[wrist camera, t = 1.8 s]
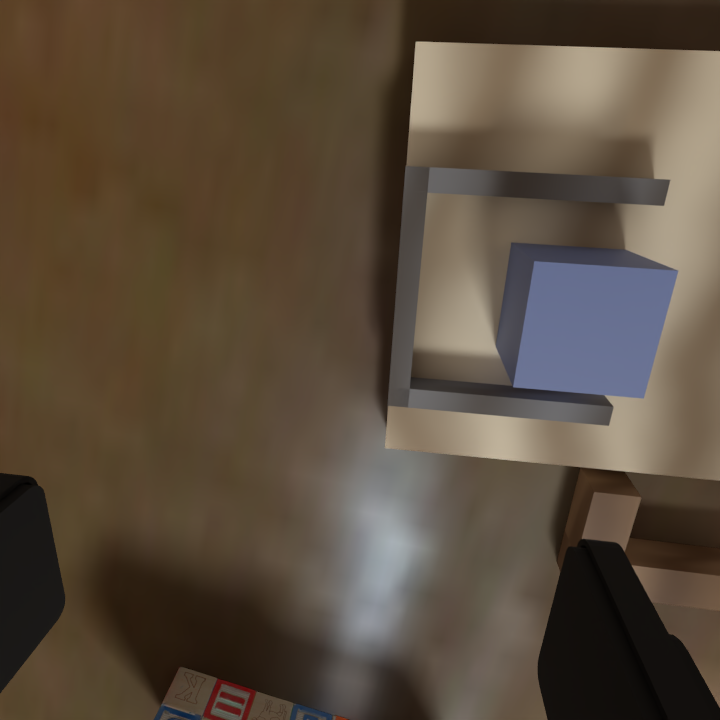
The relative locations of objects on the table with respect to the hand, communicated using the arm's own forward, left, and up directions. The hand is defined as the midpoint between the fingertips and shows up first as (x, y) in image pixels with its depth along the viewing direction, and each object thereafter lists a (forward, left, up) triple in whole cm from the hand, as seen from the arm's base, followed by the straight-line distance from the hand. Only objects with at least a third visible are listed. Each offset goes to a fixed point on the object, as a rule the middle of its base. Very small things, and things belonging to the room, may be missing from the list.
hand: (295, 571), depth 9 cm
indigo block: (-9, -1, -17) cm, 19 cm away
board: (-14, -2, -19) cm, 24 cm away
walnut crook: (-18, +12, -19) cm, 29 cm away
